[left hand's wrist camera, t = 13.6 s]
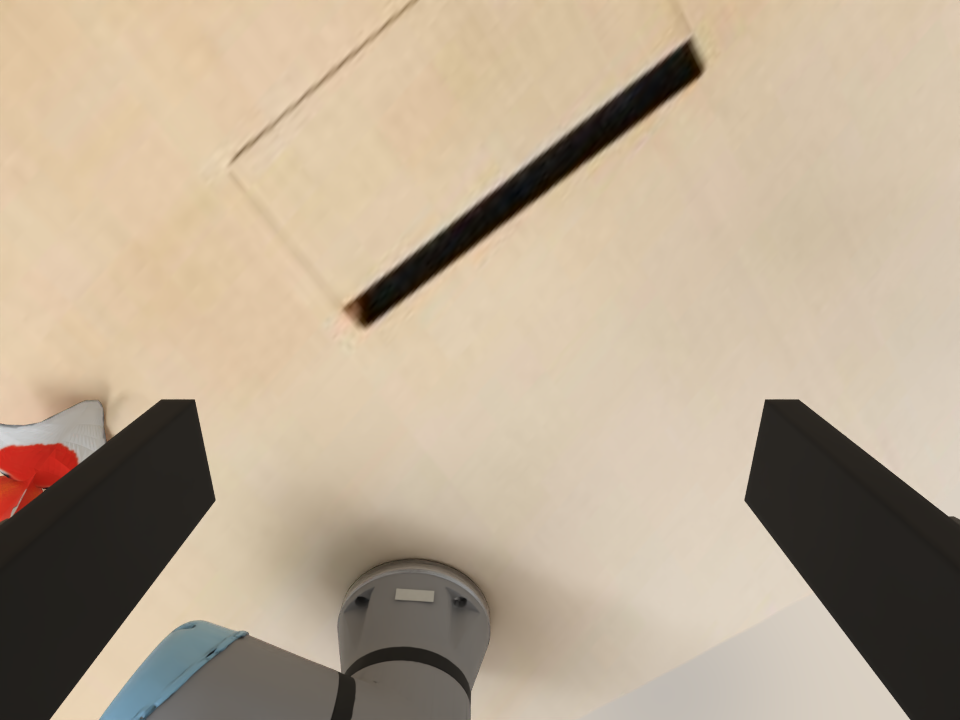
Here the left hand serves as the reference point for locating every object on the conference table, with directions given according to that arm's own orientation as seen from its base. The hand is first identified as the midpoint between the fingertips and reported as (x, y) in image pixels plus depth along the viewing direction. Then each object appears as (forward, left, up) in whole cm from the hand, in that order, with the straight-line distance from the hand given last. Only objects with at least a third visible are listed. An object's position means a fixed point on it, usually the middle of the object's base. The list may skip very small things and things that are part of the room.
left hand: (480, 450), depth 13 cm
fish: (-18, +38, -32) cm, 53 cm away
